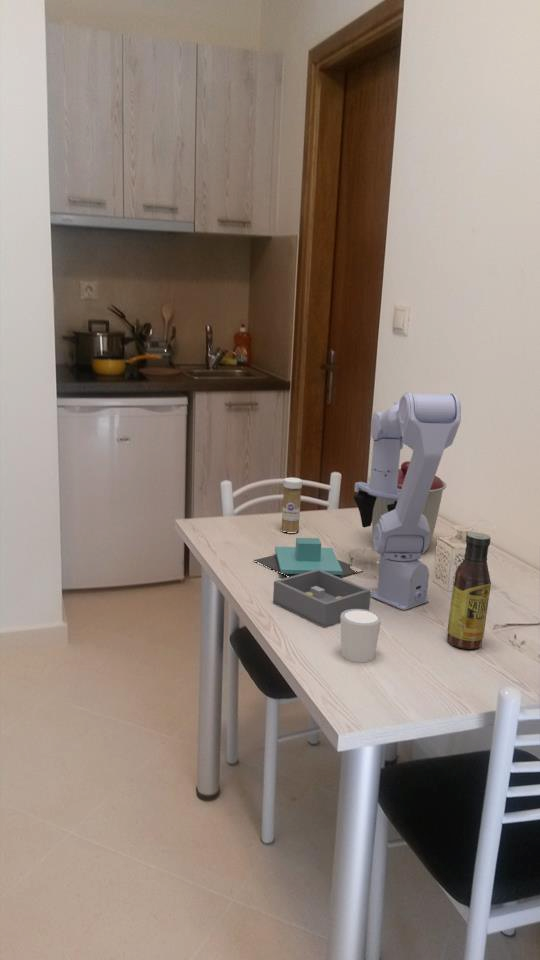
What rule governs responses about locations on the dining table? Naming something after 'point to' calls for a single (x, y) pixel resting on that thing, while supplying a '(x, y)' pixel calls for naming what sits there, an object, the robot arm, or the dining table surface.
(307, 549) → the lid
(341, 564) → the mat
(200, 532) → the dining table surface
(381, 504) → the canister
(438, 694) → the dining table surface
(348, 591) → the tub
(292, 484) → the sprinkles bottle
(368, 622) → the white cup
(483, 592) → the sauce bottle
